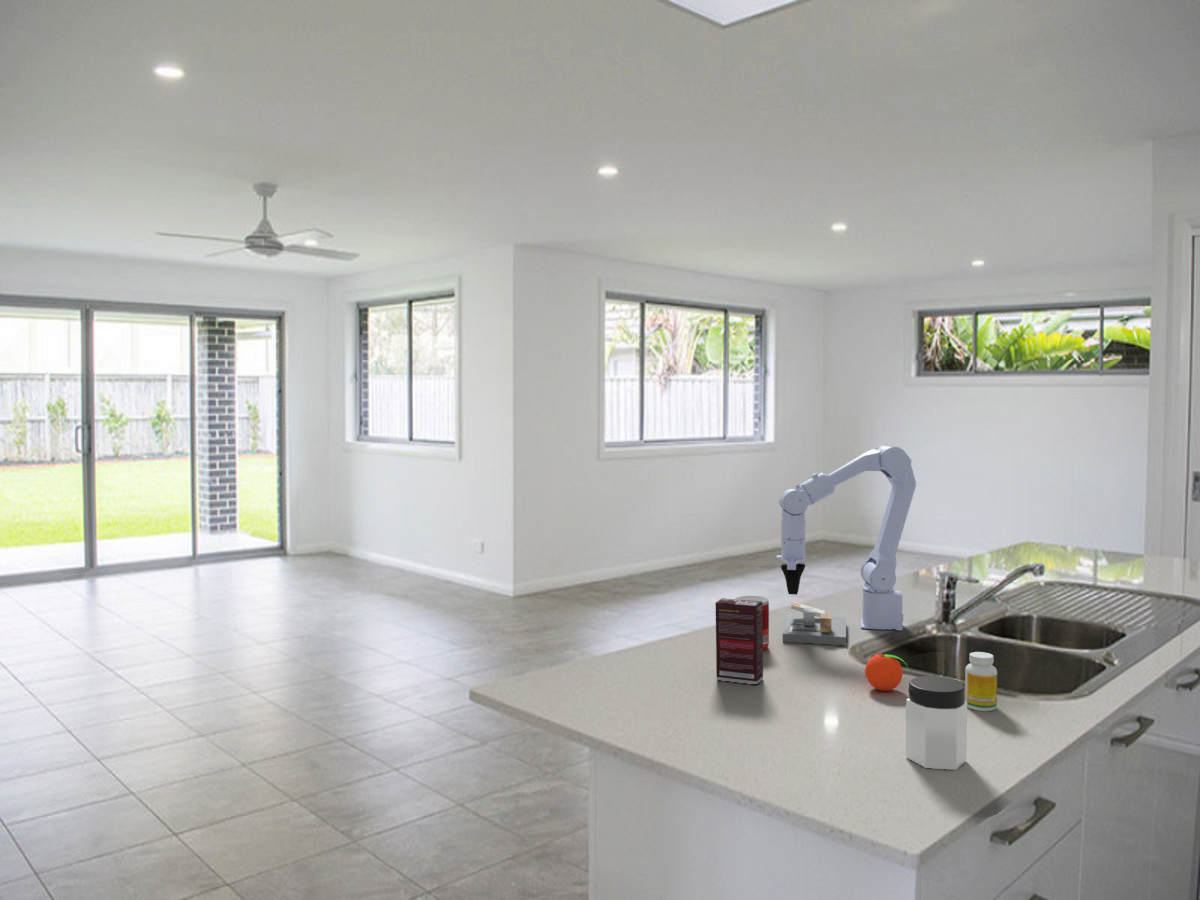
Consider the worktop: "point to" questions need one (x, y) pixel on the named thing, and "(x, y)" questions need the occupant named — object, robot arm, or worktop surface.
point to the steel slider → (809, 616)
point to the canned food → (764, 616)
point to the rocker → (801, 607)
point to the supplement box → (739, 641)
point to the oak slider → (825, 623)
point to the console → (814, 631)
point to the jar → (936, 722)
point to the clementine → (884, 672)
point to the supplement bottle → (981, 682)
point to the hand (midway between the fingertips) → (793, 593)
